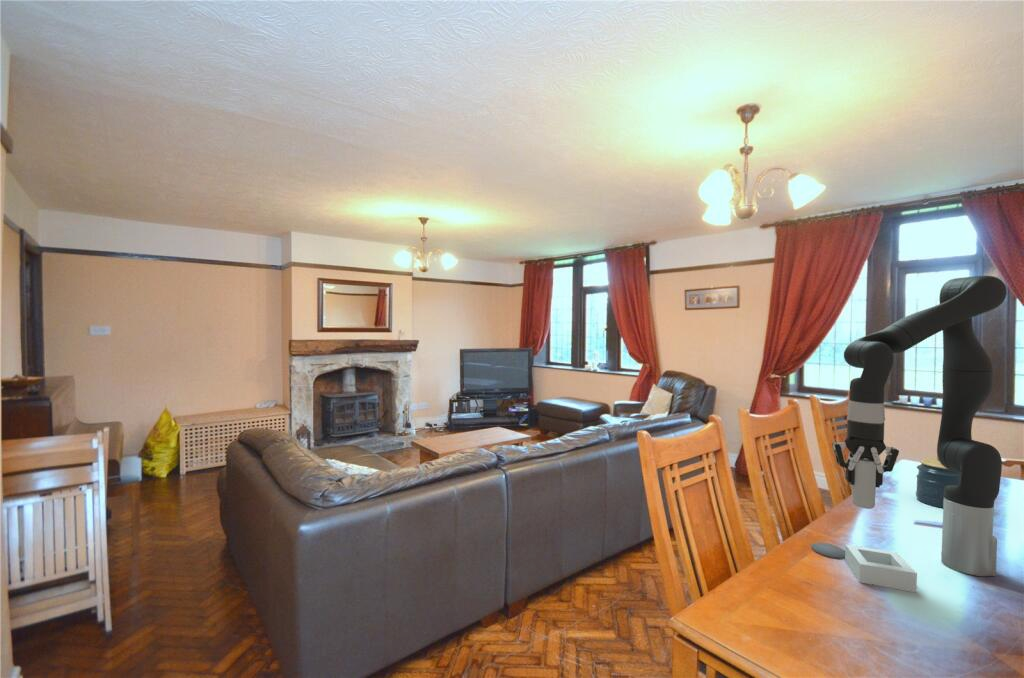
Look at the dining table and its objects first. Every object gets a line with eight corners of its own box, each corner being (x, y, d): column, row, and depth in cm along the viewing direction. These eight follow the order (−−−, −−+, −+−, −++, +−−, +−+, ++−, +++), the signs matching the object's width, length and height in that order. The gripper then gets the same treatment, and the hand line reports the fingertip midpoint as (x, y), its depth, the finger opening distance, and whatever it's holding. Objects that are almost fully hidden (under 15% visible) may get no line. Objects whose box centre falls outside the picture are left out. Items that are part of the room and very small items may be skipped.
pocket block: (896, 569, 117) (896, 552, 117) (916, 592, 106) (916, 573, 106) (844, 561, 121) (845, 544, 121) (859, 582, 110) (860, 563, 110)
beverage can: (879, 510, 114) (880, 462, 114) (857, 508, 115) (859, 461, 115) (867, 503, 119) (869, 457, 119) (847, 501, 120) (848, 456, 120)
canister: (959, 501, 166) (961, 453, 165) (970, 513, 155) (972, 461, 154) (912, 494, 173) (913, 447, 172) (919, 505, 162) (921, 455, 161)
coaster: (841, 547, 128) (841, 545, 128) (851, 561, 121) (851, 559, 121) (808, 542, 131) (808, 540, 131) (815, 555, 124) (815, 553, 124)
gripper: (893, 418, 118) (891, 484, 118) (828, 414, 123) (826, 477, 123) (907, 424, 111) (904, 494, 111) (837, 419, 116) (835, 486, 116)
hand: (863, 484), depth 117 cm, fingers closed on beverage can, 4 cm apart
